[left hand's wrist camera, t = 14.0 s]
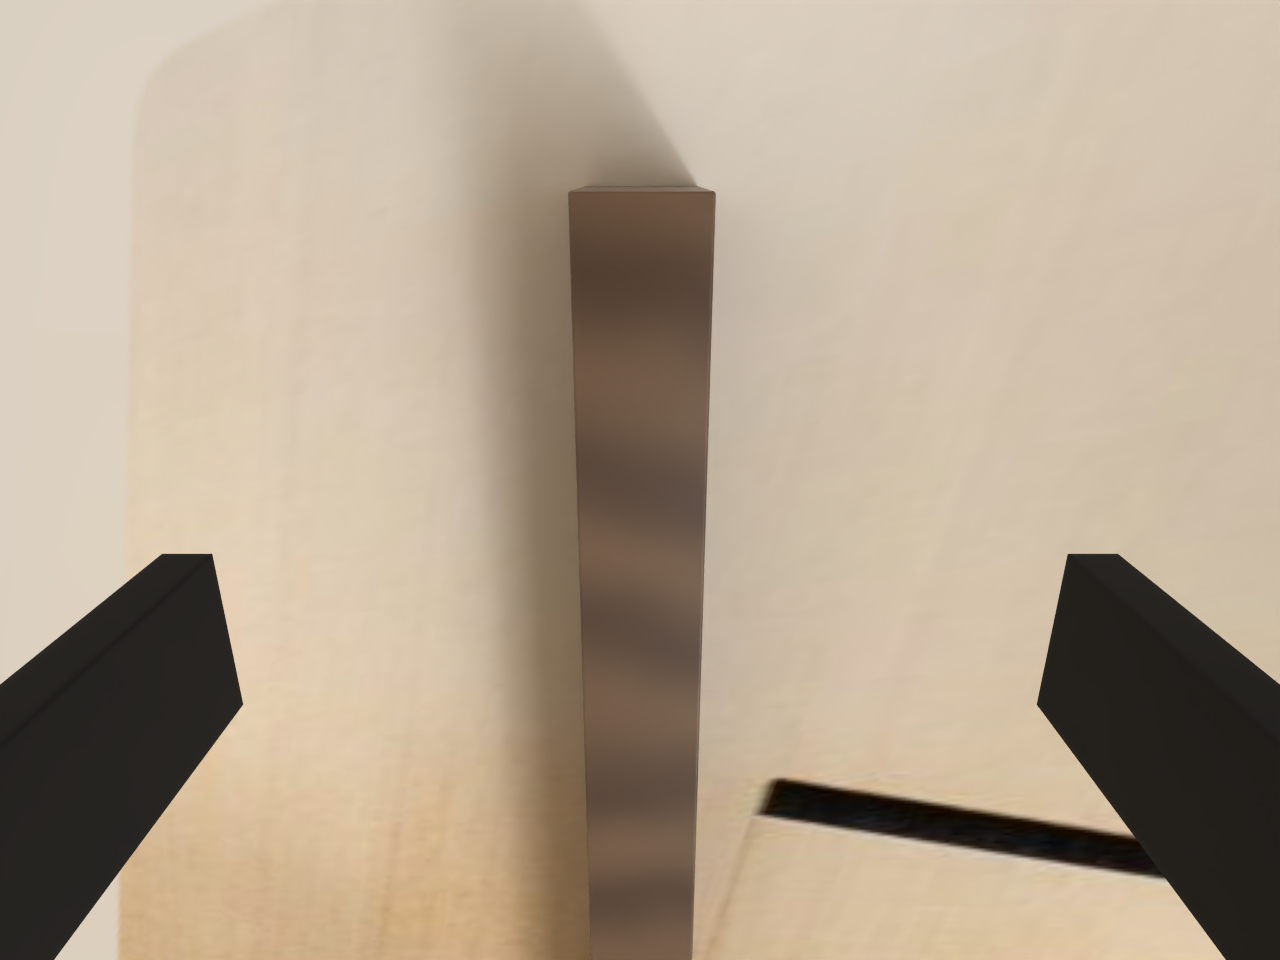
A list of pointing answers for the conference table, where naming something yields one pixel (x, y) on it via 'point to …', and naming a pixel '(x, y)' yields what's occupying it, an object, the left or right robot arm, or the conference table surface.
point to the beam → (641, 549)
